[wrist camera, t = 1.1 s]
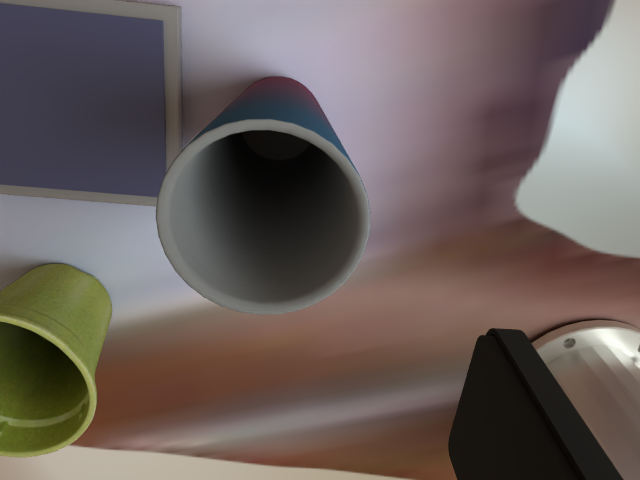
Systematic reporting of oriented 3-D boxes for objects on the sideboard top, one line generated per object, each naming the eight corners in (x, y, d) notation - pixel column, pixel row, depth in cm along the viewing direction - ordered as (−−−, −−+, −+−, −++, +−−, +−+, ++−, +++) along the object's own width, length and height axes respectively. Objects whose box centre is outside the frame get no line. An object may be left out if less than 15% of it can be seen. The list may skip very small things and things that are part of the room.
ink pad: (181, 6, 27) (176, 7, 26) (182, 202, 32) (178, 210, 31) (-40, -18, 27) (-55, -19, 25) (-5, 186, 31) (-17, 194, 30)
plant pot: (102, 222, 32) (41, 295, 25) (160, 341, 36) (123, 437, 29) (-36, 258, 33) (-139, 341, 25) (35, 372, 37) (-35, 473, 29)
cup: (330, 181, 32) (356, 321, 18) (218, 172, 31) (158, 309, 18) (343, 65, 29) (385, 129, 15) (220, 53, 28) (151, 108, 15)
